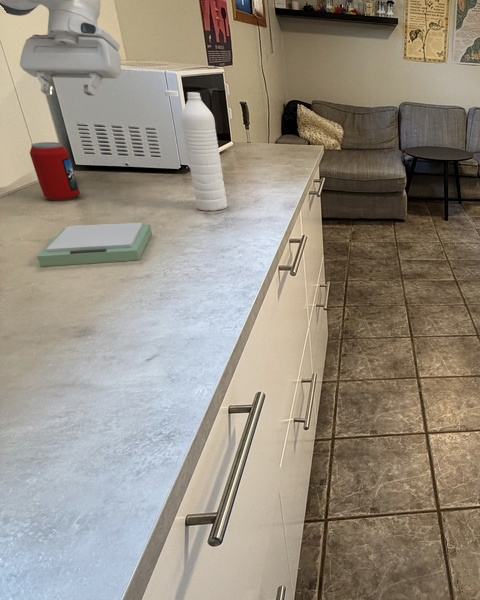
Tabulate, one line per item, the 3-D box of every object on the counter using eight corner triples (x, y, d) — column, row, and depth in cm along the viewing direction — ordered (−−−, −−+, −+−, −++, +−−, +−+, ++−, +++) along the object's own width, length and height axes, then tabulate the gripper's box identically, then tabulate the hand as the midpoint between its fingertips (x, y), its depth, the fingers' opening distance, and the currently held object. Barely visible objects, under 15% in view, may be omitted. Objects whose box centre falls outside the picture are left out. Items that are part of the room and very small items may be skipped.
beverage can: (86, 197, 111) (71, 144, 105) (53, 203, 106) (35, 148, 100) (72, 192, 114) (56, 140, 108) (38, 197, 108) (20, 143, 103)
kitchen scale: (40, 266, 77) (35, 252, 76) (66, 237, 89) (62, 225, 88) (139, 260, 82) (135, 246, 81) (151, 233, 94) (149, 221, 93)
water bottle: (229, 203, 114) (213, 91, 103) (224, 211, 109) (206, 94, 97) (190, 203, 113) (169, 89, 101) (183, 211, 107) (159, 91, 95)
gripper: (14, 25, 103) (8, 85, 102) (107, 27, 104) (103, 87, 102) (39, 43, 110) (34, 100, 109) (127, 44, 110) (123, 101, 109)
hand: (68, 94), depth 106 cm, fingers open, 8 cm apart
